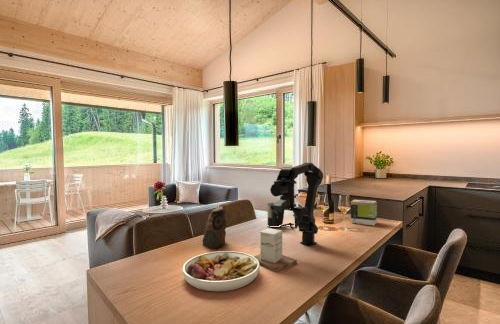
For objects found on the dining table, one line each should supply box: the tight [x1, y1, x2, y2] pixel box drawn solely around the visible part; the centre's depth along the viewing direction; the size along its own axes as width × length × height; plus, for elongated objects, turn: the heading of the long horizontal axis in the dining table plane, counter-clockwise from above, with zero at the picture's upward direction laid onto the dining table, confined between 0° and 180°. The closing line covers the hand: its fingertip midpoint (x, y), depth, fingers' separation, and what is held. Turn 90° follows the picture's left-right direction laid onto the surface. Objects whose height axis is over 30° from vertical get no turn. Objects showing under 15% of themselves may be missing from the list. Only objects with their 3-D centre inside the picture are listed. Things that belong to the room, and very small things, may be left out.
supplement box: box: [260, 227, 283, 263], centre depth 126 cm, size 7×7×13 cm
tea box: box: [350, 199, 378, 226], centre depth 190 cm, size 15×10×15 cm, turn 58°
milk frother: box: [266, 202, 295, 227], centre depth 184 cm, size 14×16×15 cm
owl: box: [201, 205, 227, 251], centre depth 149 cm, size 13×13×20 cm
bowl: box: [182, 250, 260, 292], centre depth 114 cm, size 30×30×8 cm
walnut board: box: [253, 253, 298, 273], centre depth 127 cm, size 13×16×2 cm
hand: (288, 226), depth 137 cm, fingers open, 9 cm apart
